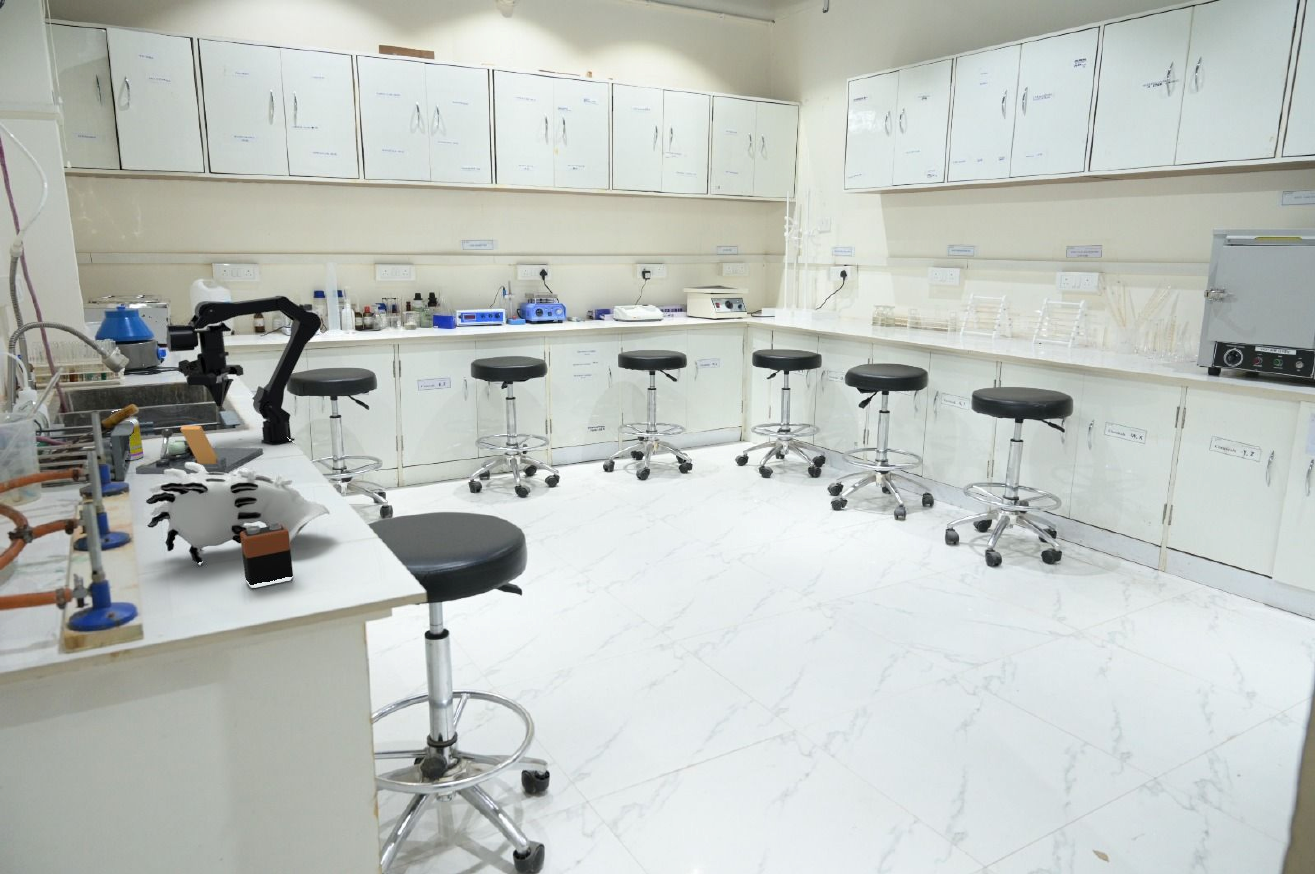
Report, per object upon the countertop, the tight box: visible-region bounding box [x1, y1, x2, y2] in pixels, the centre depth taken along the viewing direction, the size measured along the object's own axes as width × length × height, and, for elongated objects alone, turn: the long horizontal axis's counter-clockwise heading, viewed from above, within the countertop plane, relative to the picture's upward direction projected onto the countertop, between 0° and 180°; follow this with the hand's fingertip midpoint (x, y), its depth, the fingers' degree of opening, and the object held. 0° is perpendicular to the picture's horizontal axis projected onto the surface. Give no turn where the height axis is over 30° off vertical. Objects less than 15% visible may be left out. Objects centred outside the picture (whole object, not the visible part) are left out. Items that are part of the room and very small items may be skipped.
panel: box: [135, 446, 264, 475], centre depth 215 cm, size 21×22×4 cm
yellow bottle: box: [111, 408, 144, 461], centre depth 218 cm, size 7×7×13 cm
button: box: [167, 440, 185, 454], centre depth 214 cm, size 4×4×2 cm
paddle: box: [180, 425, 218, 467], centre depth 202 cm, size 2×5×13 cm
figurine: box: [145, 462, 330, 564], centre depth 153 cm, size 17×16×30 cm
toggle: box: [159, 427, 174, 459], centre depth 209 cm, size 2×2×8 cm
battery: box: [240, 523, 294, 585], centre depth 140 cm, size 4×7×10 cm, turn 127°
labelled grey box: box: [174, 439, 189, 446], centre depth 220 cm, size 7×4×1 cm, turn 0°
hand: (219, 406), depth 227 cm, fingers closed
